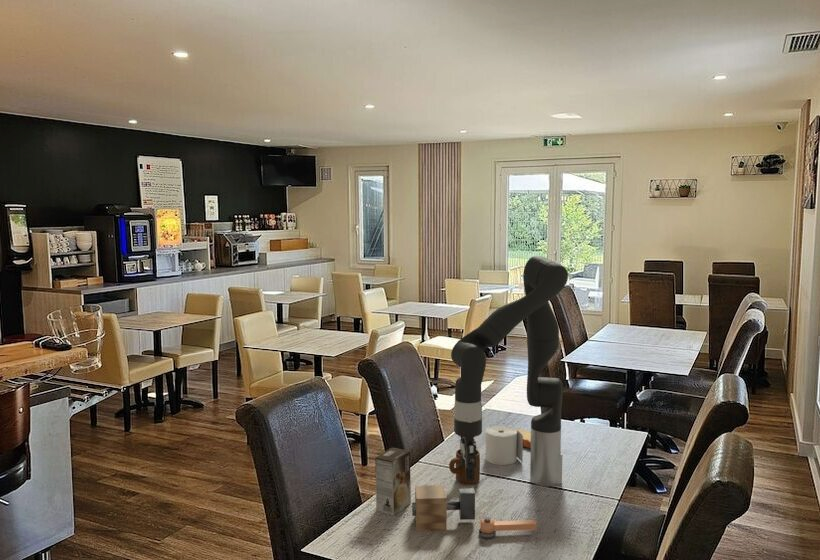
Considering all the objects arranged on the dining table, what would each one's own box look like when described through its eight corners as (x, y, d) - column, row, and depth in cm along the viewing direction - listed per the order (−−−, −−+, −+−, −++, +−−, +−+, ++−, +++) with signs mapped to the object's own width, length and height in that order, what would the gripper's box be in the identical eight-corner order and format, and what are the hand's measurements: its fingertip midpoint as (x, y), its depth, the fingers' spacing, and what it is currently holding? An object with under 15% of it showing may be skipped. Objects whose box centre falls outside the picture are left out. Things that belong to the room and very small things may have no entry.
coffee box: (393, 498, 188) (392, 446, 186) (411, 503, 185) (411, 450, 183) (375, 510, 180) (374, 456, 178) (394, 516, 177) (393, 461, 175)
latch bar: (536, 531, 165) (537, 520, 165) (481, 533, 164) (481, 522, 164) (533, 524, 169) (533, 514, 168) (479, 526, 168) (479, 516, 168)
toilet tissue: (484, 453, 222) (484, 425, 221) (518, 453, 222) (518, 425, 221) (486, 465, 211) (487, 436, 210) (522, 465, 211) (523, 436, 210)
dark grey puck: (494, 530, 169) (494, 526, 169) (497, 538, 164) (497, 535, 164) (477, 530, 168) (477, 527, 168) (480, 539, 164) (480, 535, 164)
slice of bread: (499, 432, 243) (500, 423, 243) (547, 435, 240) (547, 425, 240) (497, 449, 226) (498, 439, 225) (549, 453, 223) (549, 442, 222)
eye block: (443, 515, 177) (443, 485, 176) (446, 530, 169) (446, 498, 168) (415, 516, 177) (415, 485, 176) (416, 530, 169) (416, 498, 168)
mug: (459, 492, 191) (459, 462, 190) (441, 484, 197) (441, 455, 196) (484, 480, 199) (484, 452, 198) (466, 473, 205) (466, 445, 204)
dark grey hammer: (473, 514, 175) (473, 488, 174) (474, 519, 172) (475, 493, 171) (412, 515, 174) (411, 489, 173) (412, 521, 171) (412, 494, 170)
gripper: (451, 408, 177) (451, 464, 178) (457, 425, 162) (457, 485, 164) (477, 407, 177) (477, 463, 179) (486, 424, 163) (485, 484, 164)
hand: (467, 473), depth 171 cm, fingers open, 8 cm apart
